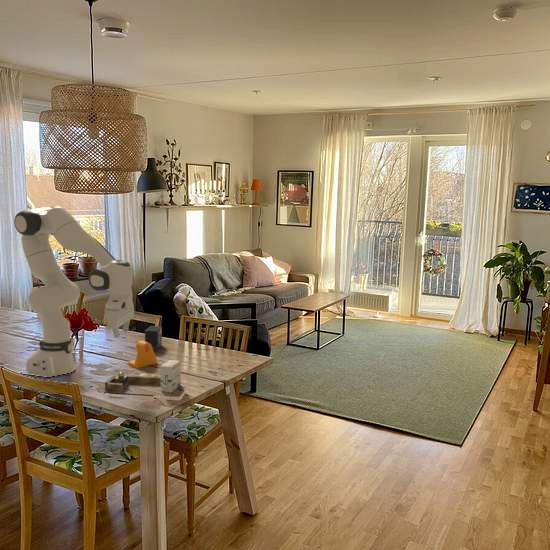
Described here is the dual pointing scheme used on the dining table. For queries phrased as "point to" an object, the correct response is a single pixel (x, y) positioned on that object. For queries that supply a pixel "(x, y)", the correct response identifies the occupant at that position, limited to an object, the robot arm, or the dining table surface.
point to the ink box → (170, 375)
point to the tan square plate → (146, 374)
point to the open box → (131, 379)
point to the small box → (154, 336)
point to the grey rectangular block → (121, 379)
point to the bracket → (143, 355)
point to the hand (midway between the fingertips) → (121, 334)
